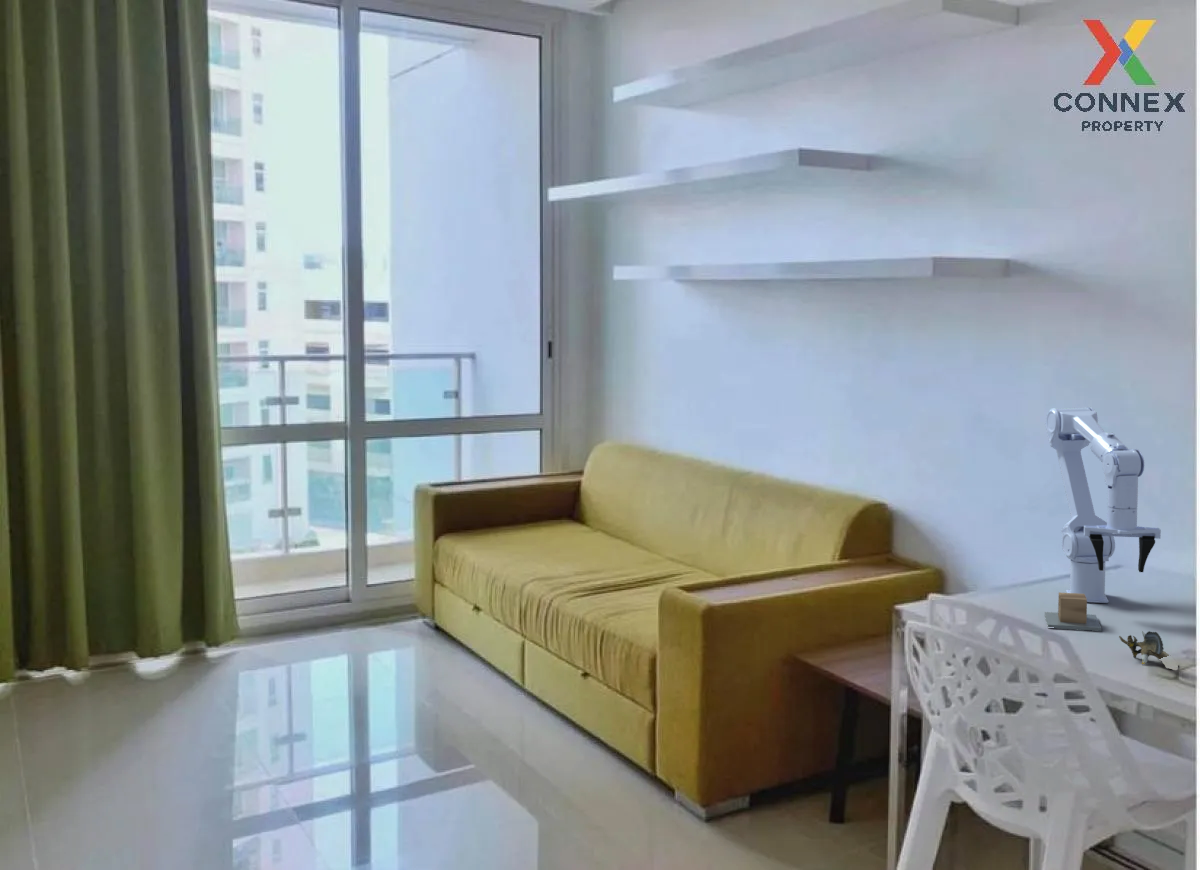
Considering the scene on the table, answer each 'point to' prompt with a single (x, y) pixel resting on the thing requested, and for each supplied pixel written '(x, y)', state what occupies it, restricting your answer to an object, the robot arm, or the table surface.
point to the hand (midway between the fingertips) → (1120, 570)
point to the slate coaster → (1054, 622)
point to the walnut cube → (1072, 607)
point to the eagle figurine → (1146, 646)
